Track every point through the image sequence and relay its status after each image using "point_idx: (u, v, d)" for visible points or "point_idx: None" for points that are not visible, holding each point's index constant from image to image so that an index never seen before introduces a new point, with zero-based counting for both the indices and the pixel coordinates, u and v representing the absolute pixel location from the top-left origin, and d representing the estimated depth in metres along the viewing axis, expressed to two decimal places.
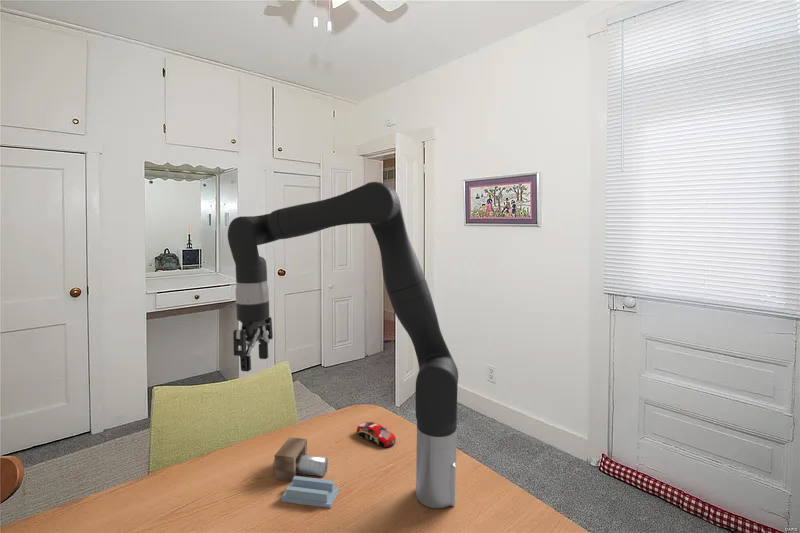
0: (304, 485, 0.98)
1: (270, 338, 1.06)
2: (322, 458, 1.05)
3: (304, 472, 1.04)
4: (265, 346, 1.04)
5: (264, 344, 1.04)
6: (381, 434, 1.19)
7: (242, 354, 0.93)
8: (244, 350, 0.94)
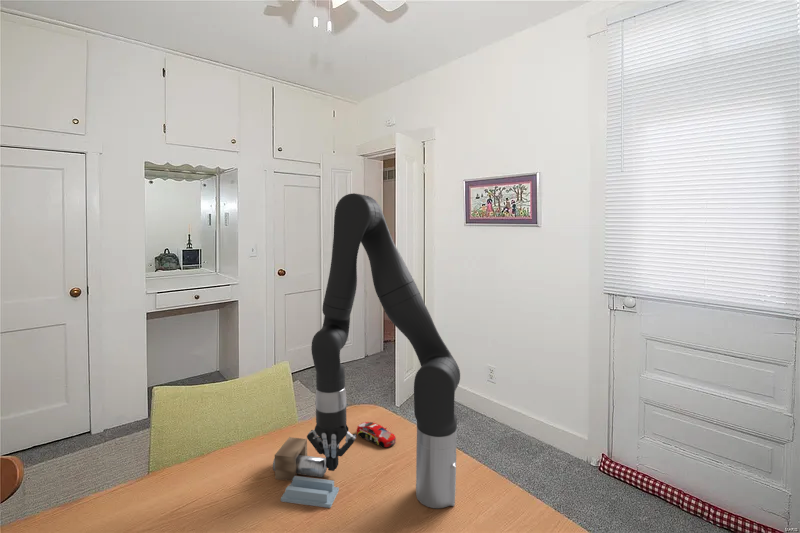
0: (304, 485, 0.98)
1: None
2: (321, 459, 1.04)
3: (304, 473, 1.04)
4: None
5: None
6: (381, 434, 1.19)
7: None
8: None
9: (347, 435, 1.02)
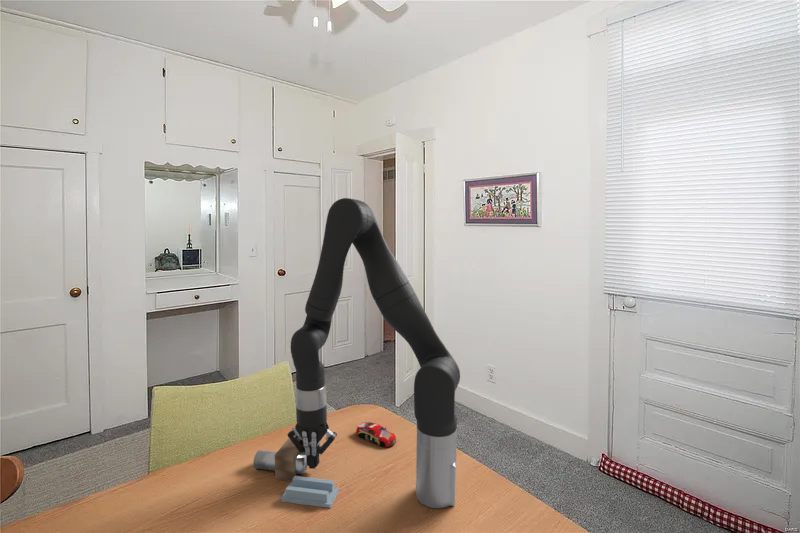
0: (304, 485, 0.98)
1: None
2: (301, 456, 1.05)
3: None
4: None
5: None
6: (381, 434, 1.19)
7: None
8: None
9: (327, 433, 1.03)
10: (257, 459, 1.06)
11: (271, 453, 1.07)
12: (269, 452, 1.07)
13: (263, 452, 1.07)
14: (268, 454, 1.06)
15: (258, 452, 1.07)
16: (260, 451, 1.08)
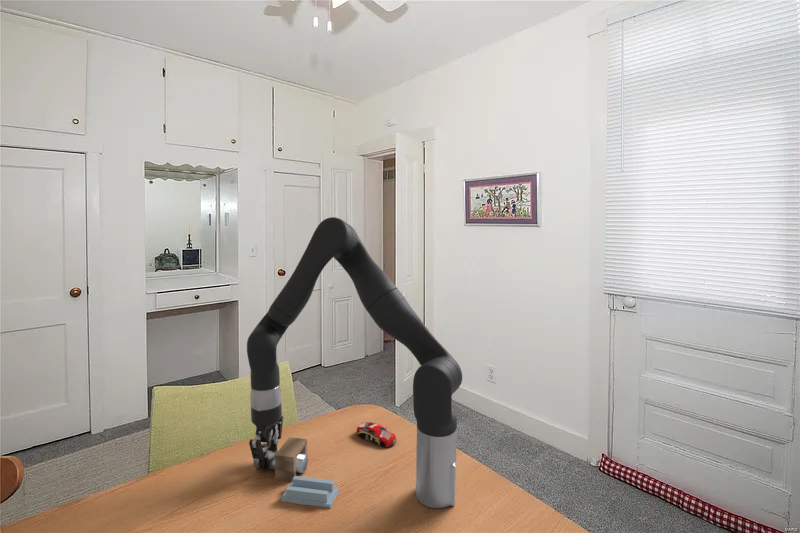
0: (304, 485, 0.98)
1: None
2: (302, 455, 1.06)
3: None
4: None
5: None
6: (382, 434, 1.19)
7: None
8: None
9: None
10: None
11: (271, 452, 1.07)
12: (269, 451, 1.07)
13: (263, 451, 1.07)
14: (269, 453, 1.06)
15: None
16: None
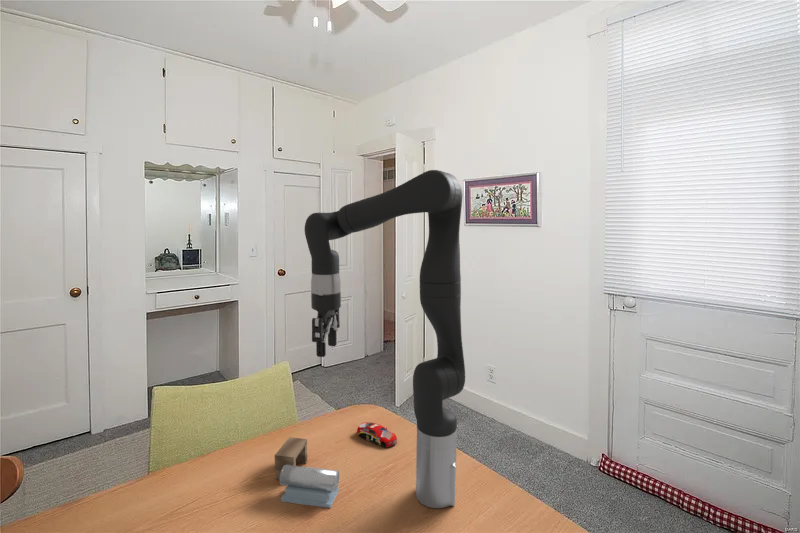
0: None
1: None
2: (333, 472, 0.95)
3: (314, 488, 0.94)
4: None
5: None
6: (382, 434, 1.19)
7: None
8: None
9: None
10: (284, 475, 0.95)
11: (299, 468, 0.96)
12: (296, 467, 0.97)
13: (290, 467, 0.97)
14: (296, 470, 0.96)
15: (284, 467, 0.97)
16: (286, 466, 0.97)
